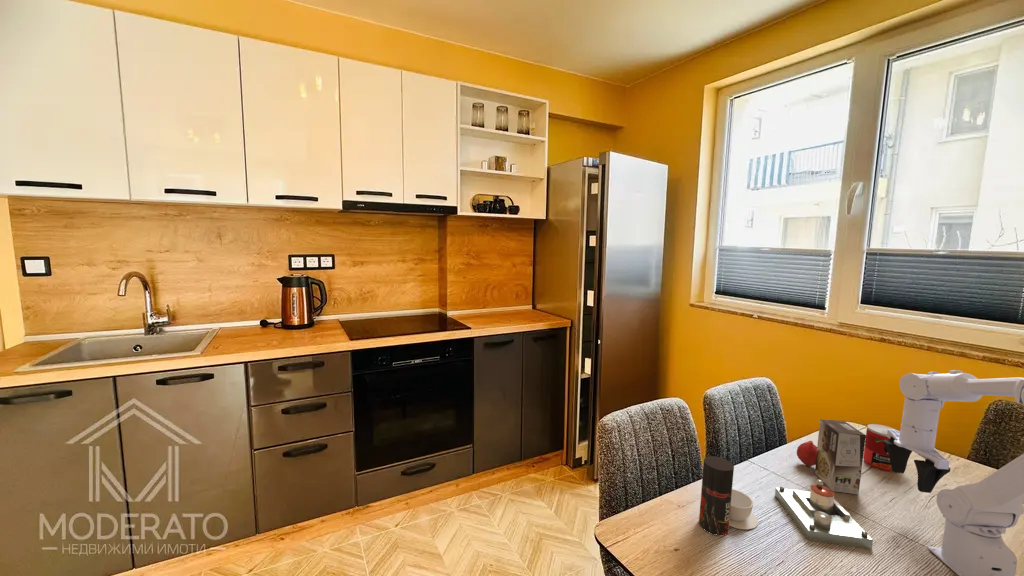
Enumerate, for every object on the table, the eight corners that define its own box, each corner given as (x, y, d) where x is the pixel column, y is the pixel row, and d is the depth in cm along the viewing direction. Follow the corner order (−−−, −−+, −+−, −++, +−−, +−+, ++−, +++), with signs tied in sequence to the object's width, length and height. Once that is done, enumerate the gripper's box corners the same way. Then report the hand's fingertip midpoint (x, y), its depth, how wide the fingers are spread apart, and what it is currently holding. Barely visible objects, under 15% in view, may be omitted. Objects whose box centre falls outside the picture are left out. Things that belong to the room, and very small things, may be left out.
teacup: (734, 535, 88) (736, 515, 88) (700, 507, 97) (701, 488, 97) (768, 526, 91) (770, 507, 91) (732, 499, 101) (733, 482, 100)
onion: (791, 463, 119) (793, 437, 118) (802, 459, 121) (805, 434, 120) (812, 473, 113) (815, 446, 112) (824, 469, 116) (827, 442, 115)
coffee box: (860, 495, 104) (867, 435, 102) (831, 491, 105) (838, 432, 103) (839, 475, 113) (845, 420, 111) (813, 472, 114) (819, 418, 112)
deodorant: (724, 540, 86) (730, 474, 85) (695, 527, 90) (700, 463, 88) (731, 525, 91) (736, 462, 89) (703, 514, 95) (708, 453, 93)
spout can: (836, 522, 93) (840, 490, 92) (815, 520, 93) (818, 488, 93) (824, 510, 97) (827, 479, 97) (804, 508, 98) (807, 477, 97)
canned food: (871, 469, 116) (876, 433, 115) (857, 456, 124) (861, 422, 123) (904, 474, 114) (909, 437, 113) (887, 460, 122) (892, 425, 120)
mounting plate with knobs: (871, 549, 85) (874, 530, 84) (808, 540, 87) (810, 521, 86) (827, 502, 100) (829, 486, 100) (774, 495, 103) (776, 480, 102)
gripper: (876, 411, 99) (869, 462, 101) (925, 438, 85) (916, 498, 87) (908, 413, 98) (901, 466, 100) (964, 442, 84) (954, 503, 85)
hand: (910, 481), depth 93 cm, fingers open, 7 cm apart
